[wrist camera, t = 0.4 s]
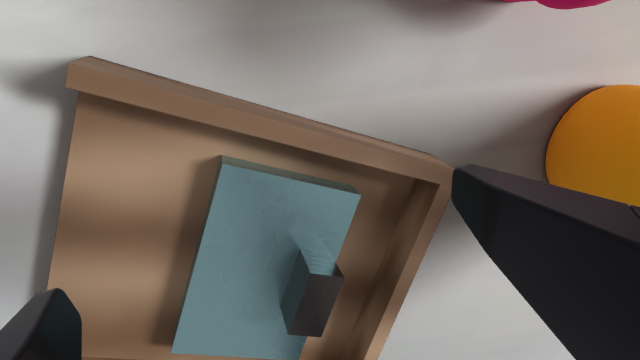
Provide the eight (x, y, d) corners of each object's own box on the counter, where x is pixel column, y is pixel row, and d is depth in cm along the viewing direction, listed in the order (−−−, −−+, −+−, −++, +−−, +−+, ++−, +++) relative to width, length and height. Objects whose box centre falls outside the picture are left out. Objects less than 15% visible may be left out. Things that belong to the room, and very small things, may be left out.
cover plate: (293, 344, 28) (307, 392, 24) (172, 335, 25) (167, 388, 21) (352, 185, 25) (378, 213, 21) (221, 154, 22) (225, 181, 18)
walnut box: (339, 370, 31) (355, 409, 28) (40, 355, 24) (16, 405, 21) (430, 154, 26) (461, 172, 23) (89, 55, 19) (68, 62, 16)
